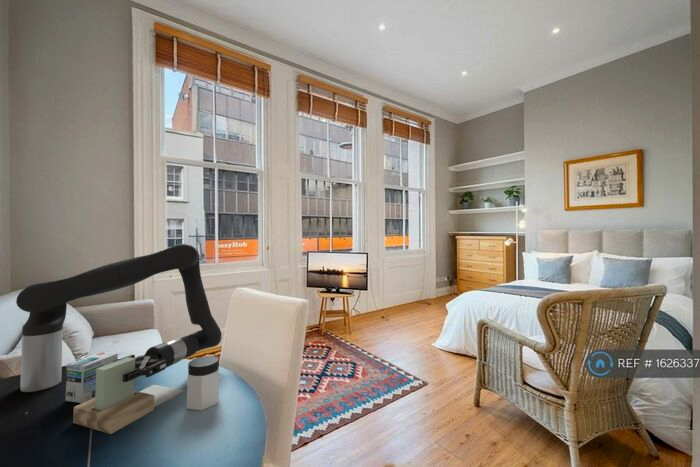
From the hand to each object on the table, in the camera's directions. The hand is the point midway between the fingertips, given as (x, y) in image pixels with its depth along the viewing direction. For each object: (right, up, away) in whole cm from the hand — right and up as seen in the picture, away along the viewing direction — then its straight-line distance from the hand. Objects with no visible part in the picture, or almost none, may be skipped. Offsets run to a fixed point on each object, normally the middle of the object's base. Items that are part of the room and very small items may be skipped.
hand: (112, 376), depth 80 cm
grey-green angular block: (0, -11, +1) cm, 11 cm away
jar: (+21, -12, +8) cm, 25 cm away
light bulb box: (-16, -11, +12) cm, 23 cm away
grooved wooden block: (0, -11, +1) cm, 11 cm away
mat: (+4, -11, +11) cm, 16 cm away
